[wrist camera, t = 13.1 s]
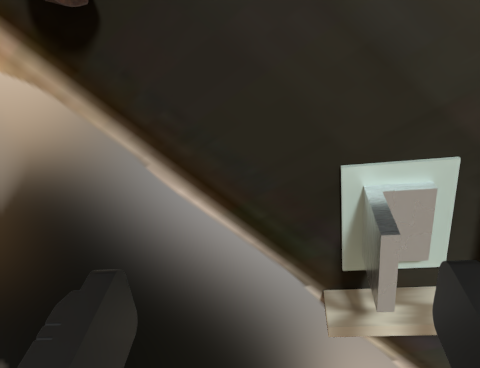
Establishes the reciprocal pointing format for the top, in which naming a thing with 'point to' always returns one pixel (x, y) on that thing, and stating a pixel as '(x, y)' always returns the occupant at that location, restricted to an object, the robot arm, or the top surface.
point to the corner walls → (379, 313)
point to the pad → (397, 173)
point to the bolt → (70, 2)
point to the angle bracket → (395, 233)
